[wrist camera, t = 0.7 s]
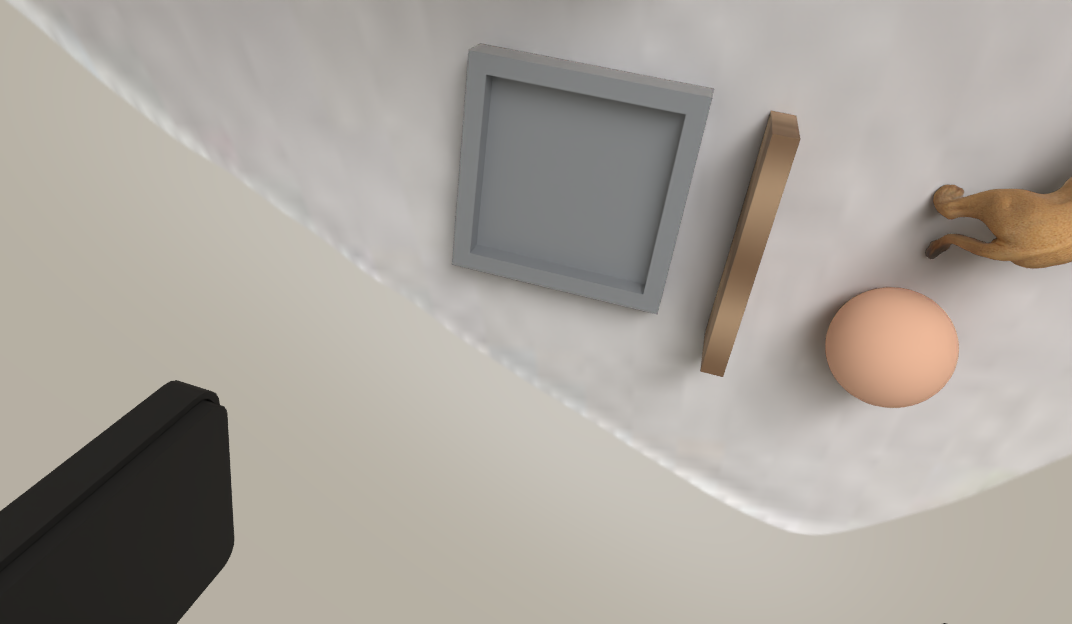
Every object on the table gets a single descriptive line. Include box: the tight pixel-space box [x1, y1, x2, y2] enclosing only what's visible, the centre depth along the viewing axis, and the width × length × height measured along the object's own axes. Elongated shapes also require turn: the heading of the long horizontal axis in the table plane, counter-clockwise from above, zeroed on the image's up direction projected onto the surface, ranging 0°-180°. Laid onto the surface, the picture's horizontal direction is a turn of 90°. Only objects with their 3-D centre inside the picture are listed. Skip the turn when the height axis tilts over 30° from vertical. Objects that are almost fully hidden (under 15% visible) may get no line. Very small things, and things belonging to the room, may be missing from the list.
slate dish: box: [452, 44, 714, 314], centre depth 39 cm, size 12×12×2 cm
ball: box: [825, 287, 959, 408], centre depth 37 cm, size 6×6×6 cm
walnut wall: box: [700, 111, 800, 377], centre depth 37 cm, size 13×1×4 cm, turn 173°
